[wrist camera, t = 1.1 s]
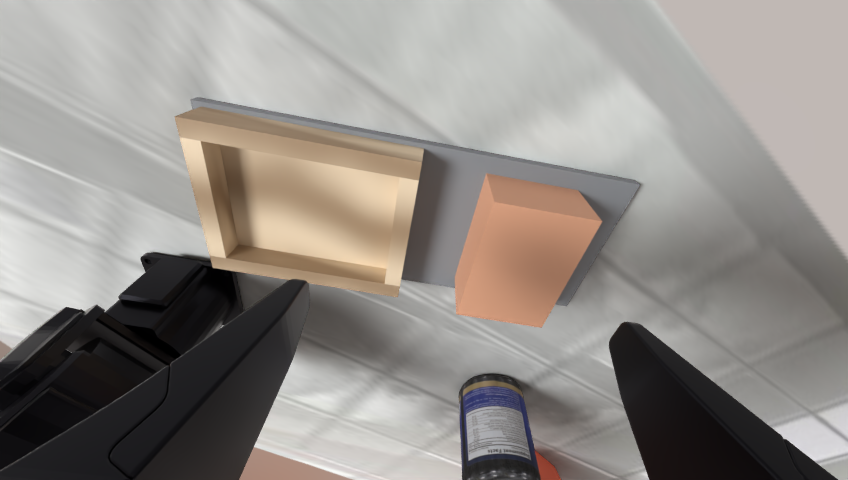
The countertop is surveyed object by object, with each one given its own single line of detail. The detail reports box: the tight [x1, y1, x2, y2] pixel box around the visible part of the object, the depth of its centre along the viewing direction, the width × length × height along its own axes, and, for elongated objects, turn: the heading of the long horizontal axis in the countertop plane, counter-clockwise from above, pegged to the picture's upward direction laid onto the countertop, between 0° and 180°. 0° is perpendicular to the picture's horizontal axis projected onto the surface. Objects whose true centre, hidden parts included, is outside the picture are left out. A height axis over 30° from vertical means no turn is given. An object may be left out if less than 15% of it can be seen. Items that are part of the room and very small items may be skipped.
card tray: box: [175, 107, 424, 297], centre depth 20 cm, size 10×12×2 cm
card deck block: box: [455, 173, 602, 328], centre depth 20 cm, size 8×6×4 cm
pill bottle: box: [459, 374, 541, 480], centre depth 28 cm, size 6×6×11 cm
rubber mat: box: [191, 97, 640, 306], centre depth 21 cm, size 10×25×1 cm, turn 80°
